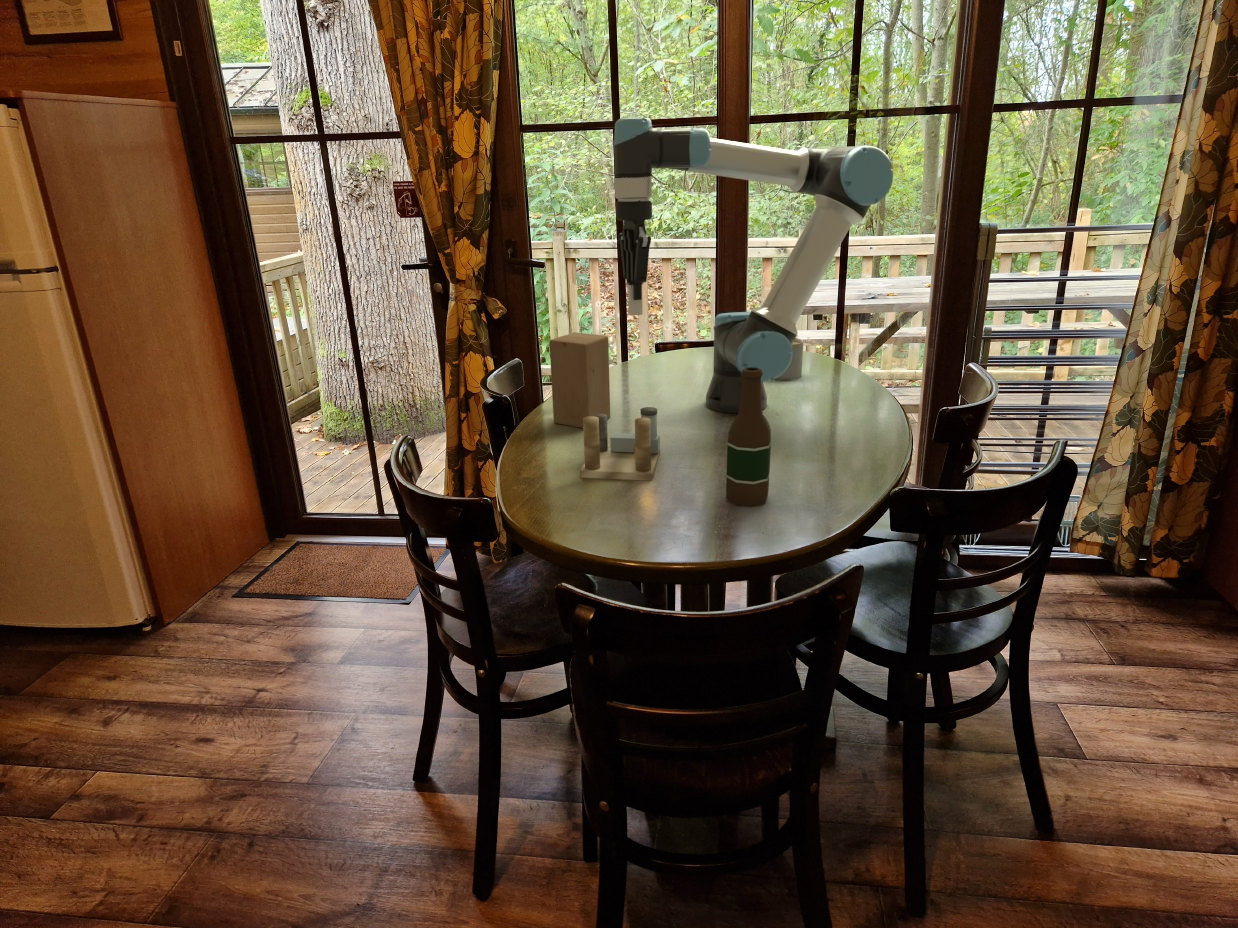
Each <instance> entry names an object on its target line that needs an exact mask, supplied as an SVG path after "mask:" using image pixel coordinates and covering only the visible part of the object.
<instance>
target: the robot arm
mask: <svg viewBox="0 0 1238 928" xmlns="http://www.w3.org/2000/svg"><path fill="white" fill-rule="evenodd" d="M613 149H614V151H613V152H614V172H615V173H614V175H615V176H614V177H615V178H614V197H615V199H617V201H616V203H615V218H616V220H617V221H621V222H623V225H622V231H621V232H620V233H618V240H619V245H620V252H621V253H620V254H621V263H622V264H621V266H622V274H623V276H622V277H623V279H624V280H626V284H627V305H628V306H627V309H628V310H627V311H628V312H627V313H628V315H629V316H632V317H633V316H643V314H644V313H643V285H644V283H646V282H647V280H648V270H649V256H650V247H651V242H652V236H647V228H646V223H645V222H646V221H648V220H652V218H653V202H652V200H650V199H651V198H652V197H653V194H652V192H653V191H652V188H653V187H654V182H653V181H652V180H653V179H652V178H653V177H652V176H653V173H652V172H653V169H663V170H665V169H668V170H676V171H684V172H692V173H699V174H704V175H711V176H718V177H725V178H731V179H738V180H743V181H750V182H751V181H752V182H758V183H766V184H773V185H776V186H777V185H779V186H785V187H789V189H790V190H791V191H792V192H794V193H800V194H805V195H809V196H813V197H814V202H815V208H814V211H813V212H812V214H811V216H810V217H809V219H808V221H807V223H806V225H805V227H804V228H803V231H802V232H801V234H800V236H799V237H798V239H797V240H796V243H795V245H794V246H793V249H792V251H791V252H790V254H789V255H788V258H787V259H786V261H785V263H784V265H783V267H782V268H781V271H780V272H779V274H778V276H777V278H776V280H775V282H774V283H773V285H772V287H771V289H770V290H769V293H768V294H767V296H766V297H765V300H764V302H763V303H762V305H760V306H759V307H756V308H752V309H751V311H741V312H739V311H737V312H736V311H734V312H725V313H724V312H723V313H719V314H717V315H716V316H715V318H714V326H713V336H714V337H713V373H712V377H711V379H710V383H709V386H708V389H707V392H706V395H705V405H706V407H707V408H708V409H710V410H712V411H716V412H721V413H727V414H728V413H729V414H738V413H739V408H740V400H741V390H742V380H743V377H742V376H741V373H742V370H743V369H744V368H748V367H756V368H759V369H762V372H763V375H762V377H761V402H762V410H765V408H767V407H768V395H767V392H766V389H765V385H764V382H769V381H772V380H775V379H776V378H777V377H779V376H781V375H782V374H783V373H784V372H785V371H786V370H787V368H788V367H789V365H790V363H791V360H792V354H793V353H792V346H791V345H792V343H793V341H794V340H795V338H797V336H798V330H797V329H798V328H797V326H796V325H797V322H798V320H799V319H800V317H801V315H802V313H803V311H804V310H805V308H806V306H807V304H808V302H809V301H810V299H811V298H812V296H813V294H814V292H815V290H816V289H817V287H818V285H819V283H820V282H821V280H822V278H823V276H824V275H825V273H826V271H827V269H828V267H829V265H830V264H831V262H832V261H833V258H834V257H835V255H836V253H837V251H838V249H839V247H840V246H841V245H842V242H843V241H844V239H845V238H846V235H847V234H848V232H849V230H850V229H851V226H852V225H854V224H857V223H860V222H862V221H863V220H864V218H865V217H866V214H867V213H868V211H869V210H870V207H871V206H873V205H875V204H877V203H879V202H881V201H882V200H883V199H884V198H885V197H886V196H888V193H889V192H890V190H891V187H892V185H893V180H894V170H893V166H892V162H891V160H890V157H889V155H887V154H886V152H884V151H883V150H882V149H880V148H878V147H877V146H871V145H868V144H867V145H866V144H859V145H855V146H853V145H852V146H835V147H827V148H811V147H805V146H802V147H800V148H798V149H797V150H790V149H785V148H780V147H779V148H777V147H771V146H766V145H761V144H753V143H746V142H739V141H734V140H732V141H731V140H726V139H719V138H714V137H711V135H710V132H709V131H708V130H707V129H706V128H703V127H702V128H701V127H699V128H698V127H694V126H693V127H682V128H681V127H678V128H677V127H676V128H675V127H674V128H656V127H655V128H654V127H653V124H652V120H651V119H650V118H648V117H625V118H624V117H623V118H619V119H617V120H616V121H615V123H614V140H613Z"/></svg>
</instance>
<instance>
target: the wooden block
mask: <svg viewBox="0 0 1238 928" xmlns="http://www.w3.org/2000/svg"><path fill="white" fill-rule="evenodd" d="M548 343H549V358H550V359H549V360H550V376H551V394H552V395H551V397H552V398H551V399H552V413H553V415H552V416H553V423H554V424H558V425H564V426H569V427H575V428H579V429H583V418H584V417H588V416H594V415H595V414H606V415H607V420H608V419H611V394H610V393H611V392H610V391H611V390H610V388H611V387H610V356H609V355H610V352H609V351H610V349H609V336H608V335H602V334H592V333H585V332H584V333H583V332H576V331H575V332H570V333H567V334H565V335H561V336H558V337H555V338H552V339H550V340H549V342H548Z"/></svg>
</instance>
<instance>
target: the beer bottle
mask: <svg viewBox="0 0 1238 928" xmlns="http://www.w3.org/2000/svg"><path fill="white" fill-rule="evenodd" d="M762 375H763V372H762V369H759V368H756V367H748V368H744V369H743V370H742V373H741V376H742V377H743V380H742V390H741V400H740V408H739V413H737V415H736V416H735V418H734V420H733V421H732V423H731V425H730V428H729V430H728V434H727V435H728V436H727V445H726V446H727V449H726V450H727V451H726V485H725V487H726V488H725V491H726V492H725V494H726V495H725V496H726V501H727V502H729V503H732V504H734V506H738V507H739V506H740V507H749V508H753V507H757V506H761V505H765V504H766V502H767V499H768V497H769V489H770V473H771V471H770V470H771V455H772V454H771V449H772V429H771V427H770V424H769V421H768V420H767V418H766V416H765V415H764V412H763V409H762V402H761V377H762Z"/></svg>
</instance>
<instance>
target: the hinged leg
mask: <svg viewBox="0 0 1238 928" xmlns="http://www.w3.org/2000/svg"><path fill="white" fill-rule="evenodd" d="M640 418H649V419H651V453H658V452H659V449H660V450H661V435H660V434H658V408H656V407H653V406H645V407H641V408H640ZM609 441H610V445H609V447H611V452H634V444H635V433H621V432H612V434H611V436H610V438H609Z"/></svg>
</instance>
